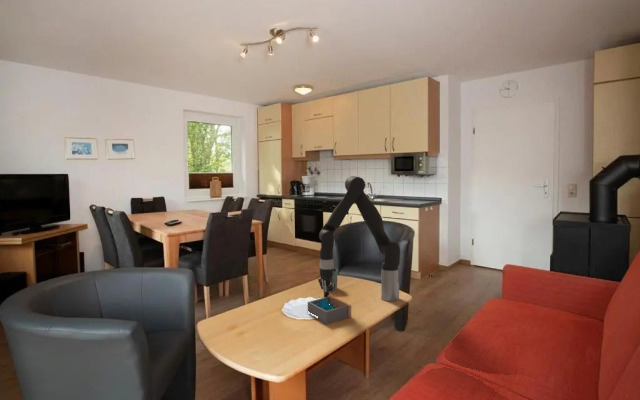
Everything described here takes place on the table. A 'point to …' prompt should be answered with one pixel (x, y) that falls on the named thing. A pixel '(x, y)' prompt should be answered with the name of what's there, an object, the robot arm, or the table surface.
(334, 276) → the grey green cup
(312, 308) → the housing
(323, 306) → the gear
